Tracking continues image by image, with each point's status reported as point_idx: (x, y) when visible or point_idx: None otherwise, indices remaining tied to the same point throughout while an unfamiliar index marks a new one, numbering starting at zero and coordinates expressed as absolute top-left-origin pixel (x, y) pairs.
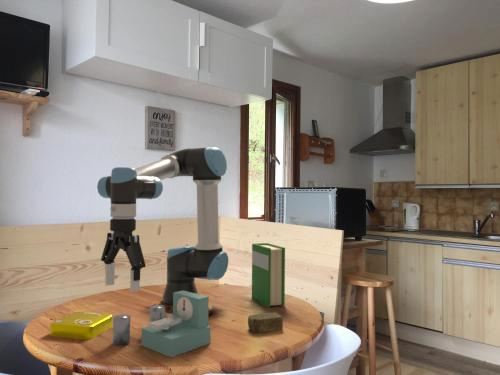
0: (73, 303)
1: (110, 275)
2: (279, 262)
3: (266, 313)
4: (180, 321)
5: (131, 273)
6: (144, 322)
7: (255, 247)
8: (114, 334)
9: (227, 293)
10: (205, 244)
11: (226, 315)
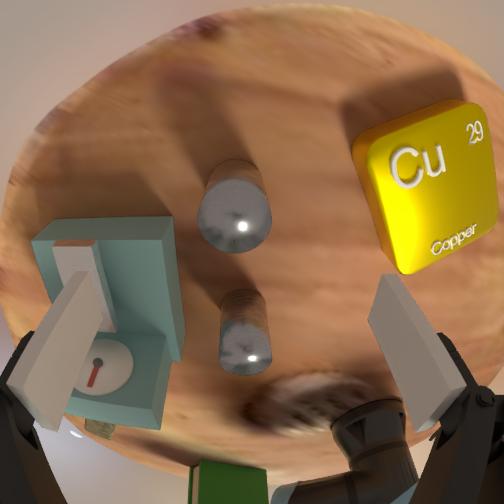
0: None
1: (398, 342)
2: None
3: (108, 433)
4: None
5: (23, 362)
6: (333, 323)
7: None
8: (233, 168)
9: (319, 463)
10: None
11: (218, 425)
